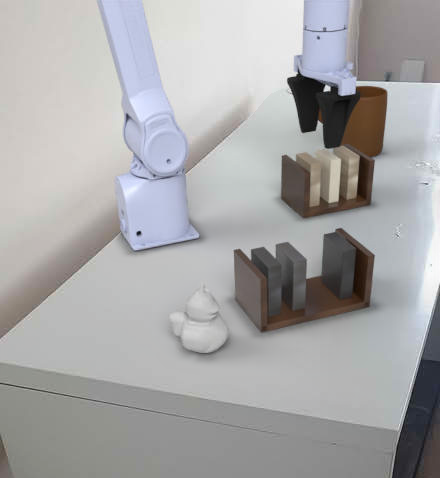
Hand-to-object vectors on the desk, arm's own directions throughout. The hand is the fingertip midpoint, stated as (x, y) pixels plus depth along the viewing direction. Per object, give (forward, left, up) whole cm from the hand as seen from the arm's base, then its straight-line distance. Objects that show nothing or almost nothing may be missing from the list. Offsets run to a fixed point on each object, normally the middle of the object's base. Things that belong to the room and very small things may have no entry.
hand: (320, 139), depth 100 cm
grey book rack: (-15, -26, -9) cm, 32 cm away
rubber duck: (-29, -30, -9) cm, 43 cm away
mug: (+14, +18, -9) cm, 24 cm away
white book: (+1, 0, -8) cm, 8 cm away
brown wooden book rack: (+1, 0, -9) cm, 9 cm away
